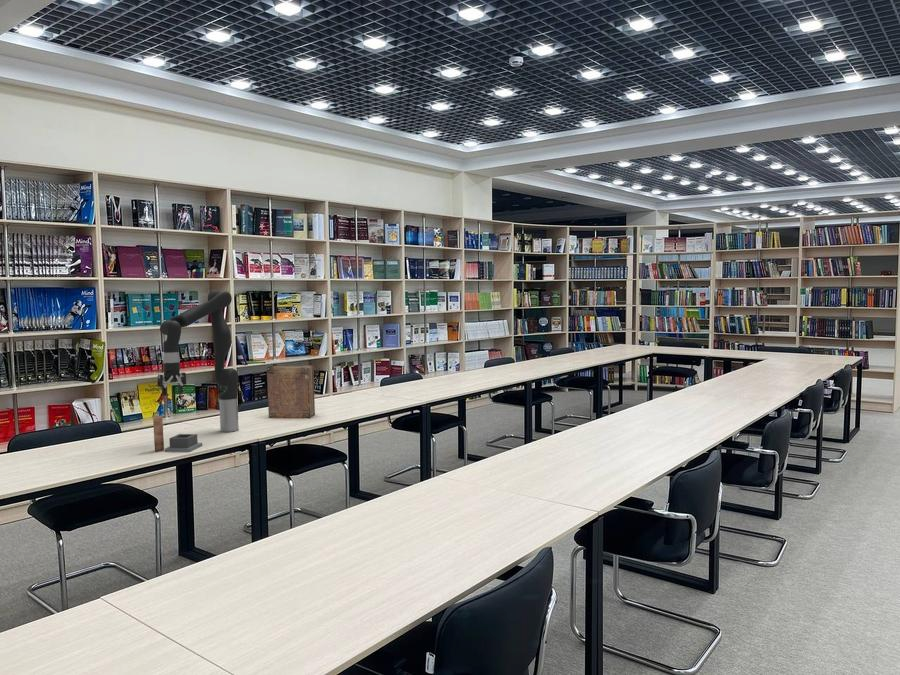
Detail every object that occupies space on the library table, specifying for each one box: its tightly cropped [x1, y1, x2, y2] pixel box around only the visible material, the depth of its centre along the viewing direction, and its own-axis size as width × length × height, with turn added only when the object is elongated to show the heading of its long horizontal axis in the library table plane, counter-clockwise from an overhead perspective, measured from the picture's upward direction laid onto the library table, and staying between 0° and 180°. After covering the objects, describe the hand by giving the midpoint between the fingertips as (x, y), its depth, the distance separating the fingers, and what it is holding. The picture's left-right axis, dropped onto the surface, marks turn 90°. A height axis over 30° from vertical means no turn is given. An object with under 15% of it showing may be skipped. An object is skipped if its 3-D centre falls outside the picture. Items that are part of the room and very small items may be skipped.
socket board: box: [164, 433, 203, 453], centre depth 303 cm, size 12×12×6 cm
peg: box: [152, 415, 165, 453], centre depth 299 cm, size 4×4×16 cm
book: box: [266, 364, 316, 419], centre depth 377 cm, size 25×9×30 cm, turn 82°
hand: (172, 394), depth 312 cm, fingers open, 8 cm apart
